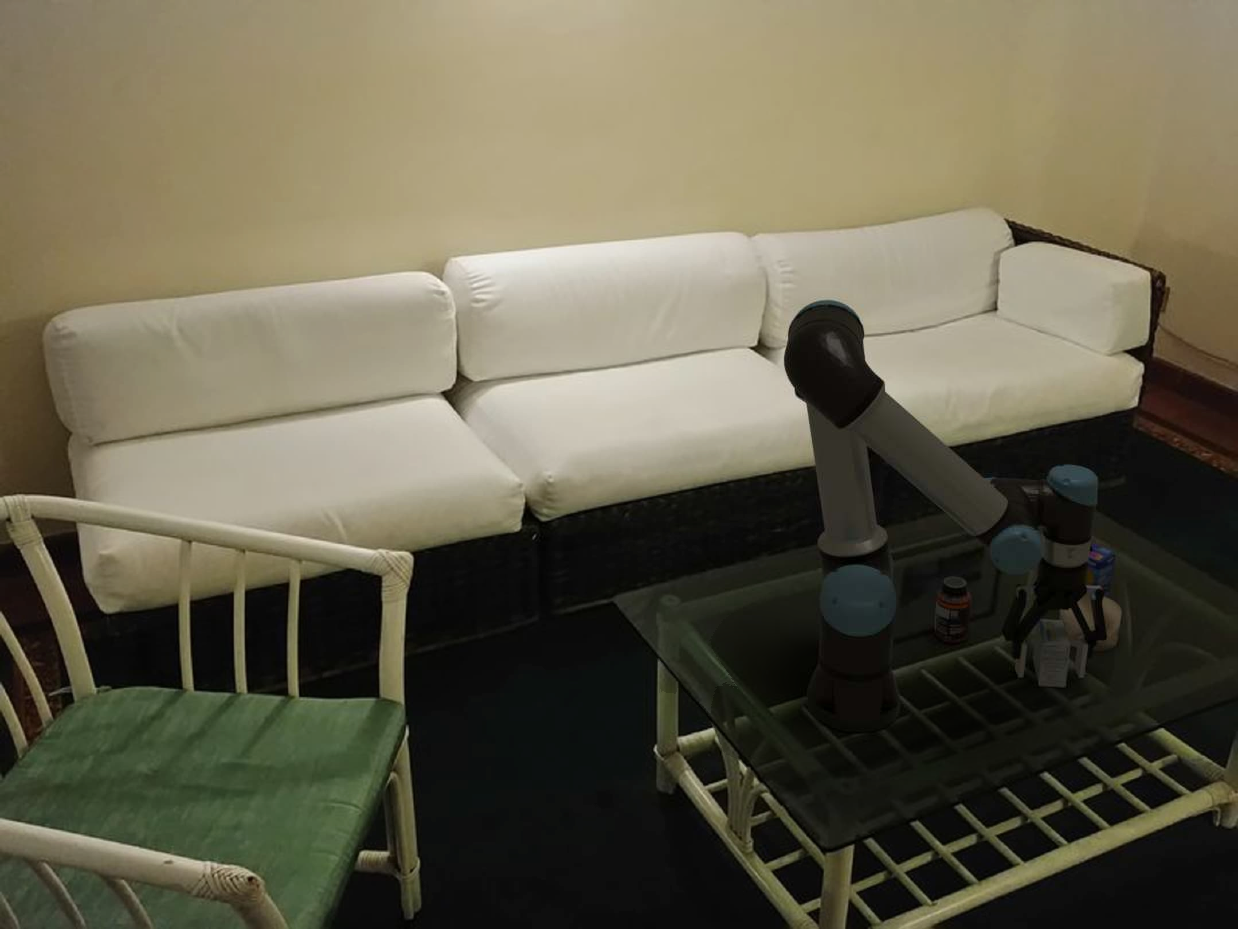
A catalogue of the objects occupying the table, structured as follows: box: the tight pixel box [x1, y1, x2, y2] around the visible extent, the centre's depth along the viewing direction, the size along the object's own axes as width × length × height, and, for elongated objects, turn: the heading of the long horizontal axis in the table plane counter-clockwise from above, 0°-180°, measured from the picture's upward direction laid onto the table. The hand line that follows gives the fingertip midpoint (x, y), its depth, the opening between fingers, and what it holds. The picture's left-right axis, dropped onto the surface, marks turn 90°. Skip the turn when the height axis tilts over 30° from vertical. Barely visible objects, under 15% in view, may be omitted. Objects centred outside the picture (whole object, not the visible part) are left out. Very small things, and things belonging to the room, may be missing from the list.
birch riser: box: [1058, 593, 1123, 652], centre depth 202 cm, size 10×10×6 cm
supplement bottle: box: [934, 575, 972, 644], centre depth 203 cm, size 6×6×11 cm
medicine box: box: [1032, 618, 1071, 689], centre depth 191 cm, size 8×4×9 cm, turn 168°
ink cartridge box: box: [1085, 542, 1116, 599], centre depth 210 cm, size 10×6×14 cm, turn 38°
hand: (1048, 673), depth 193 cm, fingers open, 9 cm apart
